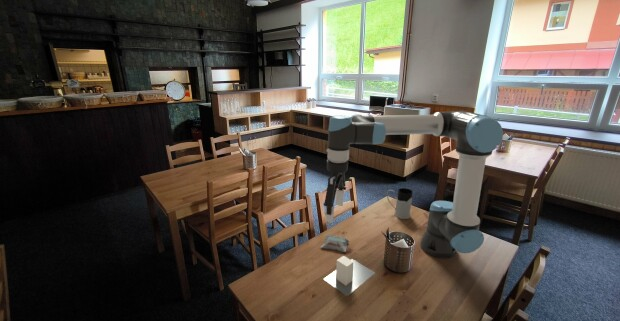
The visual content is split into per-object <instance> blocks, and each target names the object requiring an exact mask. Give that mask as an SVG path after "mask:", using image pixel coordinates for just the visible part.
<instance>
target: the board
mask: <svg viewBox="0 0 620 321" xmlns="http://www.w3.org/2000/svg"><path fill="white" fill-rule="evenodd" d="M350 260H352V261H353V262H354V265H353V279H352V282H351V283H349V284H348V285H347V286H345V285H343V284H342V283H340V282H339V281H337V280H336V269H335V270H334V271H332V272H331V273H330V274H328V275H327V276H326V277H324V278H323V280H324V281H325V282H327V284H329V285H331V286H332V287H333V288H335V289H336V290H338V291H339V292H340V293H341V294H343V295H345V297H348V296H350V294H352V293H353V292H354V291H356V290H357V289H358V288H359V287H360V286H362V285H363V284H365V282H366V281H367V280H369V279H370V278H371V277H372V276H374V275H375V274H376V272H375V271H373V270H371V269H370V268H368V267H367V266H364V265H363V264H362V263H360V262H358V261H357V260H355V259H353V258H351V259H350Z"/></svg>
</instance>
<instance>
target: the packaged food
mask: <svg viewBox="0 0 620 321" xmlns="http://www.w3.org/2000/svg"><path fill="white" fill-rule="evenodd" d="M324 240H325V241H324V243H323V244H322V245H321V246H320V247H319V248H320V249H321V248H322V249H327V250H334V251H338V252H341V253H347V248H348V247H347V245H348V244H349V243H350V241H349V239H347V238H346V237H342V236H336V235H332V234H327V235H326V236H325V238H324Z"/></svg>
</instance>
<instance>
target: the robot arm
mask: <svg viewBox="0 0 620 321" xmlns="http://www.w3.org/2000/svg"><path fill="white" fill-rule="evenodd" d="M327 130H328V132H327V133H328V134H327V136H328V137H327V148H326V150H325V152H327V156H326V157H327V158H326V169H327V171H328V172H330V173H331V175H330V177H328V178H327V187H326V192H325V193H326V194H325V198H324V203H323V206H324V207H325V217H324V218H325V222H328V223H331V224H333V223H334V216H335V215H334V213H335V206H339V207H342V206H343V205H344V204H343V203H344V192H345V191H346V190H347V186H346V176H345V174H346V172H347V171H348V168H349V161H348V160H349V157H350V145H354V144H355V145H381V144H383V143H384V142H385V140H386V136H389V135H396V136H397V135H433V136H435V137H444V138H449V139H452V140H454V141H456V142H455V144H456V145H455V153H457V155H459V156H458V157H459V158H458V163H457V171H456V172H457V173H456V179H455V187H454V193H453V201H450V200H448V201H447V200H435V201H433V202H432V203H431V204H430V208H429V214H428V218H427V219H428V220H427V225H426V231H425V232H424V234H423V235H422V237H421V239H420V245H419V246H420V247H421V249H422V250H423V251H424V252H425V253H427V254H428V255H430V256H432V257H437V258H442V259H449V258H452V257H453V256H455V255H456V252H458V253H461V254H471V253H473V252H475V251H477V250H478V249H480V248H481V247H482V245H483V244H484V242H485V236H484V234H483V232H482V231H480V224H481V219H480V217H479V216H478V215H477V214H478V208H479V202H480V196H481V191H482V185H483V178H484V172H485V168H486V167H485V166H486V160H487V158H488V157H490V156H492V154H493V151H495V150H496V149H497V148H498V146H500V145H501V143H502V142H503V138H504V130H503V127H502V125H501V124H500V122H499V121H498V120H496V119H494V118H493V117H490V116H488V115H485V114H479V113H476V112H472V111H467V110H450V111H436V112H434V113H433V114H406V115H405V114H401V115H400V114H399V115H398V114H395V115H394V114H393V115H362V114H353V115H351V116H349V115H343V114H342V115H341V114H340V115H339V114H338V115H337V114H336V115H332V116H331V117H329V123H328V129H327ZM334 204H335V205H334Z"/></svg>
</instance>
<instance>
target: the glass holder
mask: <svg viewBox="0 0 620 321" xmlns="http://www.w3.org/2000/svg"><path fill="white" fill-rule="evenodd" d="M390 191H391V192H393V196H394V198H395V199H396V205H393V203H391V201H390V198H389V192H390ZM386 196H387V201H388V202H389V204H390V205H391V206H392V208H394V211H395V212H394V216H395V218H399V219H401V220H408V219H410V218H411V208H412V201H413V190H412V189H410V188H403V187H402V188H399V189H398V191H397V197H396V192H395V191H394V190H393V189H389V190H387V193H386Z"/></svg>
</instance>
